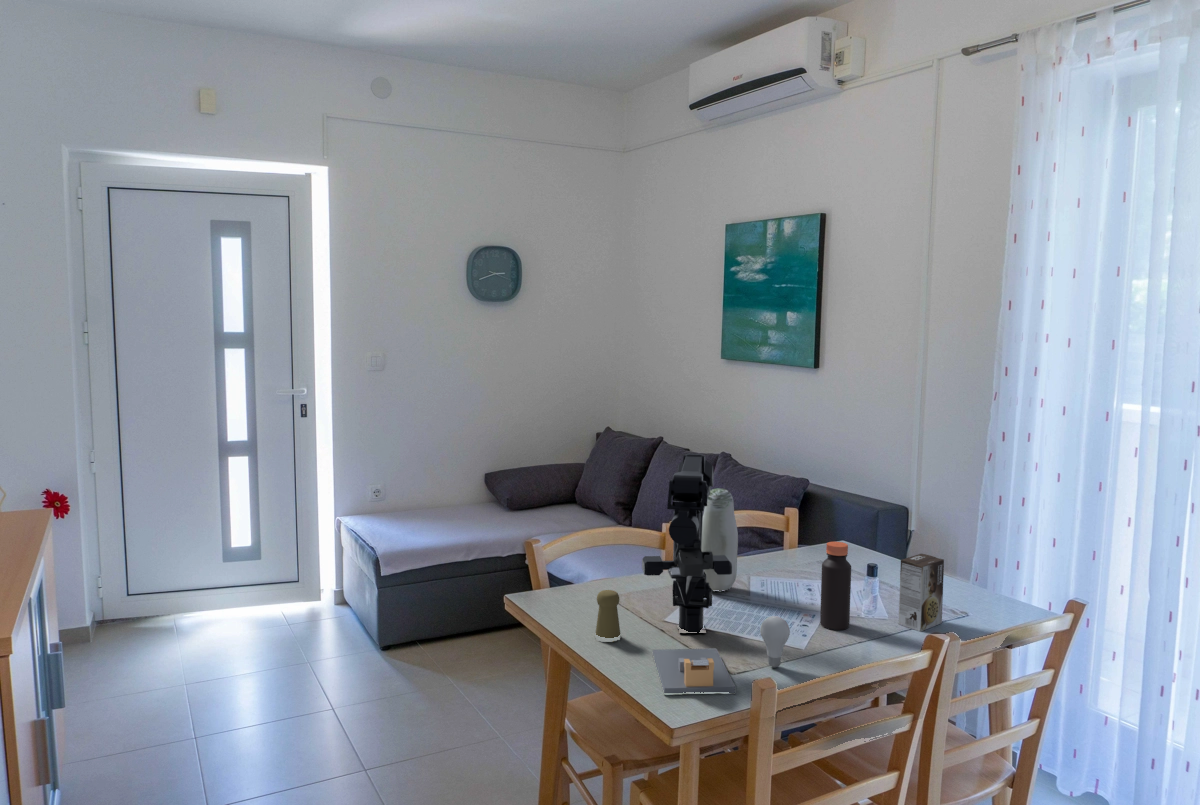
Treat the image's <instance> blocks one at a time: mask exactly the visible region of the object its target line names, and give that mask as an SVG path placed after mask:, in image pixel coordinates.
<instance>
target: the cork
mask: <svg viewBox="0 0 1200 805" xmlns="http://www.w3.org/2000/svg"><path fill="white" fill-rule="evenodd" d="M596 596H597V597H596V603H597V604H598V612H597V621H596V626H595V633H596V635H598V636H600V637H605V638H614V637H618V636H619V635H620V634H621V629H620V628H621V627H620V620H619V619H620V618H619V611H618V610H619V609H618V605H619V603H620V595H619V593H618V592H617V591H615V590H612V589H603V590H601V591H599V592H598V594H597V595H596Z"/></svg>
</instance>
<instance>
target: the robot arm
mask: <svg viewBox="0 0 1200 805" xmlns="http://www.w3.org/2000/svg"><path fill="white" fill-rule="evenodd" d="M682 459H683V460H682V461H681V462H680V463H678V467H677V472H675V473H674V474H673V476H672V479H669V482H668V495H667V506H666V508H667V510H674V511H673V517H672V519H671V522H670V523H669V526H668V535H669V537H670V539H671V540H673V543H672V544H673V545H672V547H673V548H672V549H673V551H672V552H673V553H672V554H673V555H672V560H663V558H662V557H661V556H660V555H645V556H643V558H641V570H642V572H643V574H644V576H648V577H649V576H660V575H661V574H663V572H664V571H666V570H667V573H668V574H669V577H670V578H671V579H673V581H672V606H673V607H678V622H679V627H680V628H681V629H684V630H686V631H688V632H697V633H699V632H700V630H701V629H702V628H703V625H704V609H709V607H713V591H712V589H711V587H710V585H709V582H707V576H706V574H705V572H704V570H709V569H714V571H715V572H716V573H717V574H718V575H730V574H732V563H731V562H730V560H729V559H728V558H727V557H726V556H725V555H713V554H712V552H702V551H701V547H702V523H703V514H704V509H705V506H707V502H708V497H709V495H710V491H711V487H714V465H713V464H711V463H710V462H709V461H707V460H706V455H705V454H703V453H686V454H683V458H682Z"/></svg>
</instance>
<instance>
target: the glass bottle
mask: <svg viewBox="0 0 1200 805" xmlns="http://www.w3.org/2000/svg"><path fill="white" fill-rule="evenodd" d="M734 507H735V505H734V498H733V495H732V493H731V492H730V491H729V490H727V489H725V488H719V487H718V488H713V489H710V495H709V497H708V502H707V506H705V507H704V511H703V523H702V547H701V551H702V552H712V554H713V555H725V556H726V557H727V558H728V559H729V560H730V562H731V563H732V574H730V575H718V574H717V573H716V572H715V571H714V569H709V570H704V572H705V574H706V576H707V582H709V585H710V587H711V589H712V590H719V591H722V590H727V591H728V589H729V590H730V589H731V588H732V587H733V585H734V583H735V582H736V579H737V572H738V548H739V533H738V526H737V520H736V516H735V508H734Z"/></svg>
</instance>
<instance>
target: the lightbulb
mask: <svg viewBox="0 0 1200 805" xmlns="http://www.w3.org/2000/svg"><path fill="white" fill-rule="evenodd" d="M759 632H760V636H761V638H762V641H763V642H764V644H765V647H766V655H767V664H768V665H769V666H770V667H771V668H777V667H779V666H781V661H782V660H781V659H782V656H783V650H784V647H785V645H786V643H787V642H788V640H789V638H790V635H791V629H790V625H789V624H788V622H787V620H785V619H784V618H783V617H780V616H776V615H772V616H768V617H767V618H765V619H764V620H763V621H762V622H761V625H760V630H759Z"/></svg>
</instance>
